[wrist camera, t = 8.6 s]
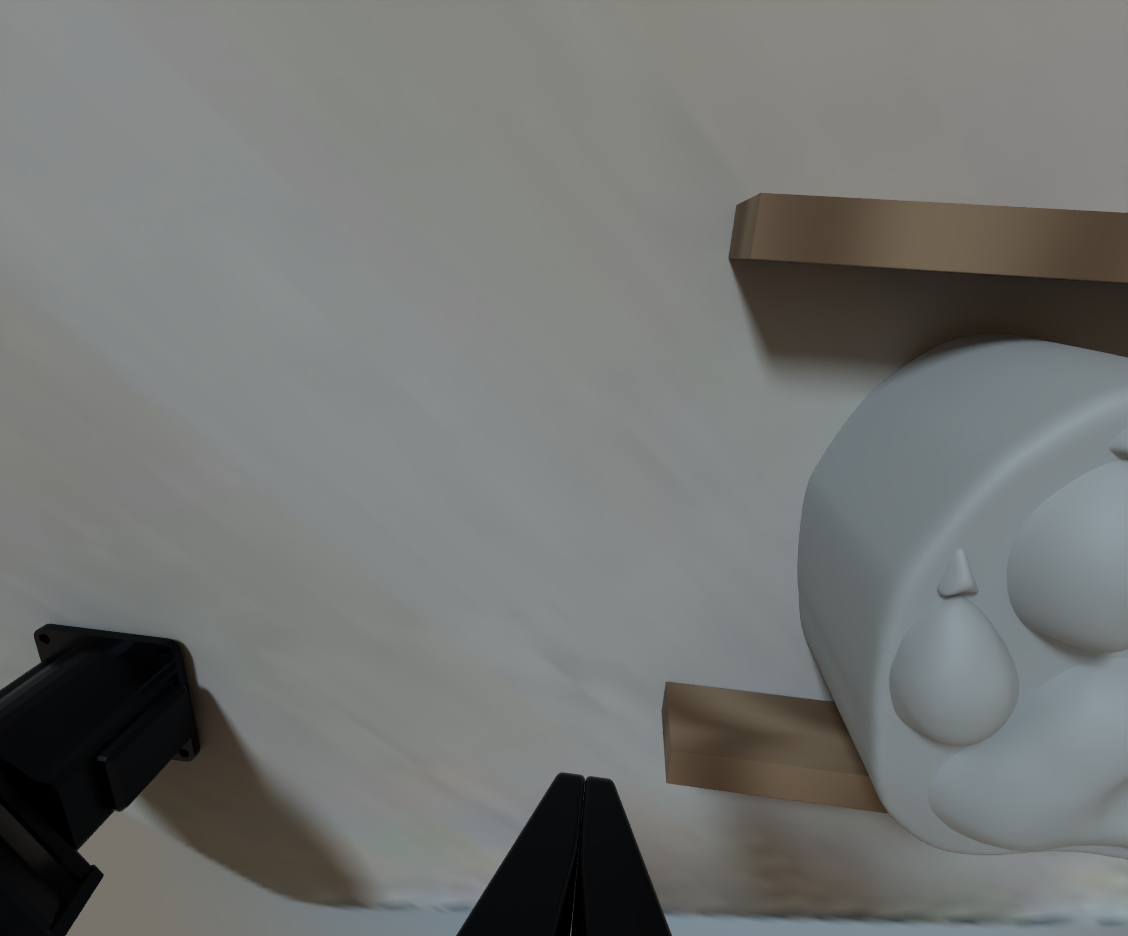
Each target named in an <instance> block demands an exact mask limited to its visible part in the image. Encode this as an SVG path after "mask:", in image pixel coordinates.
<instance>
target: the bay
mask: <svg viewBox="0 0 1128 936" xmlns="http://www.w3.org/2000/svg"><path fill="white" fill-rule="evenodd" d="M729 259H745V260H760V261H776V262H792V263H807V264H823V265H839V266H854V267H870V268H886V269H901V270H917V271H933V272H949V273H964V274H980V275H996V276H1011V277H1027V278H1043V279H1058V280H1074V281H1090V282H1105V283H1121V284H1128V213H1118V212H1099V211H1081V210H1063V209H1044V208H1026V207H1008V206H990V205H971V204H953V203H935V202H916V201H898V200H880V199H862V198H843V197H825V196H807V195H788V194H770V193H760V194H758V195H756V196H754V197H752V198H750V199H748V200H746V201H744V202H742V203H740V204H738V205H736V212H735V219H734V226H733V232H732V239H731V246H730V253H729ZM662 724H663V739H664V754H665V769H666V783H669V784H677V785H684V786H691V787H699V788H706V789H713V790H721V791H728V792H736V793H743V794H750V795H758V796H765V797H772V798H780V799H787V800H794V801H802V802H809V803H817V804H824V805H831V806H839V807H846V808H853V809H861V810H868V811H876V812H883V813H888V812H887V810H886V809H885V807H884V806H883V804H882V802H881V801H880V799H879V797H878V795H877V793H876V791H875V788H874V786H873V784H872V781H871V779H870V777H869V774H868V772H867V770H866V768H865V765H864V763H863V761H862V759H861V757H860V755H859V753H858V751H857V749H856V747H855V745H854V743H853V740H852V738H851V736H850V734H849V732H848V730H847V727H846V725H845V723H844V721H843V719H842V717H841V714H840V712H839V710H838V708H837V706H836V704H835V702H828V701H820V700H812V699H804V698H796V697H787V696H779V695H771V694H763V693H755V692H746V691H738V690H730V689H722V688H714V687H705V686H697V685H689V684H681V683H673V682H666V685H665V692H664V699H663V706H662Z"/></svg>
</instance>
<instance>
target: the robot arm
mask: <svg viewBox="0 0 1128 936" xmlns="http://www.w3.org/2000/svg"><path fill="white" fill-rule="evenodd" d="M34 639H35V642H36V646H37V649H38V652H39V656H40V659H41V663H40V664H38V665H37V666H35V667H34V668H32V669H31V670H29V671H28V672H26V673H25V674H23V675H22V676H21V677H19V678H18V679H16V680H15V681H13V682H12V683H10V684H9V685H7V686H6V687H4V688H3V689H2V690H0V936H65V935H66V934H67V932H68V931H69V929H70V928H71V926H72V924H73V923H74V921H75V920H76V918H77V917H78V915H79V913H80V912H81V911H82V909H83V907H84V906H85V904H86V903H87V901H88V900H89V898H90V897H91V895H92V893H93V892H94V890H95V889H96V887H97V886H98V884H99V883H100V881H101V879H102V878H103V876H104V874H103V873H102V872H101V871H100V870H99V869H98V868H97V867H96V866H95V865H90V864H89V863H88V862H87V861H86V860H85V859H84V858H83V857H82V856H81V855H80V854H79V853H78V852H77V850H78V849H79V848H80V847H81V846H82V845H83V844H84V843H85V842H86V841H87V839H89V837H90V836H91V835H92V834H93V833H94V832H95V831H96V830H97V829H98V828H99V826H101V825H102V824H103V822H104V821H105V820H106V819H107V818H108V817H109V816H110V815H111V814H112V813H113V812H114V811H118V812H120V811H123V810H124V809H125V808H126V807H128V806H129V805H130V804H131V803H132V802H133V800H134V799H135V798H136V797H137V796H138V795H139V794H140V793H141V792H142V791H143V790H144V788H145V787H146V786H147V785H148V784H149V783H150V782H151V781H152V780H153V779H154V778H155V776H156V775H157V774H158V773H159V772H160V771H161V770H162V769H163V768H164V767H165V766H166V765H167V763H168V762H169V761H170V760H171V759H172V760H179V761H191V760H193V759H194V758H195V757H196V755H197V754H198V753H199V752H200V744H199V739H198V734H197V729H196V724H195V719H194V714H193V709H192V704H191V698H190V693H189V688H188V683H187V678H186V673H185V668H184V663H183V658H182V653H181V649H180V646H179V645H178V644H177V642H175V641H174V640H172V639H168V638H160V637H152V636H144V635H136V634H128V633H120V632H112V631H104V630H96V629H88V628H80V627H72V626H64V625H56V624H46V625H44V626H43V627H41V628H39V629H38V630H36V631H35V633H34ZM584 786H585V789H584ZM583 797H584V800H583ZM582 808H583V810H582ZM581 819H582V821H581ZM580 830H581V832H580ZM579 841H580V842H579ZM578 851H579V853H578ZM577 862H578V864H577ZM576 872H577V875H576ZM575 883H576V885H575ZM574 893H575V896H574ZM573 903H574V907H573ZM572 914H573V918H572ZM571 924H572V930H571ZM570 933H571V936H672V935H671V932H670V929H669V927H668V924H667V921H666V919H665V916H664V914H663V911H662V908H661V906H660V903H659V900H658V898H657V895H656V892H655V890H654V887H653V885H652V882H651V879H650V877H649V874H648V871H647V869H646V866H645V863H644V861H643V858H642V856H641V853H640V850H639V848H638V845H637V842H636V840H635V837H634V834H633V832H632V829H631V827H630V824H629V821H628V819H627V816H626V813H625V811H624V808H623V805H622V803H621V800H620V798H619V795H618V792H617V790H616V787H615V785H614V783H613V781H612V780H611V779H607V778H600V777H593V776H589V777H587V778H586V781H585V778H584V777H583V776H582V775H578V774H571V773H564V772H562V773H559V774H558V775H557V776H556V777H555V779H554V781H553V782H552V784H551V785H550V787H549V789H548V790H547V792H546V793H545V795H544V797H543V798H542V800H541V801H540V803H539V805H538V806H537V808H536V809H535V811H534V812H533V814H532V816H531V817H530V819H529V820H528V822H527V824H526V825H525V827H524V828H523V830H522V832H521V833H520V835H519V836H518V838H517V840H516V841H515V843H514V844H513V846H512V848H511V849H510V851H509V852H508V854H507V856H506V857H505V859H504V860H503V862H502V864H501V865H500V867H499V868H498V870H497V871H496V873H495V875H494V876H493V878H492V879H491V881H490V883H489V884H488V886H487V887H486V889H485V891H484V892H483V894H482V895H481V897H480V899H479V900H478V902H477V903H476V905H475V907H474V908H473V910H472V911H471V913H470V915H469V916H468V918H467V919H466V921H465V923H464V924H463V926H462V928H461V929H460V931H459V932H458V934H457V935H456V936H570Z"/></svg>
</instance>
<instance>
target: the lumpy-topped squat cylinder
mask: <svg viewBox="0 0 1128 936" xmlns="http://www.w3.org/2000/svg"><path fill="white" fill-rule="evenodd" d="M797 577H798V590H799V610H800V619H801V625H802V629H803V633H804V636H805V638H806V641H807V643H808V645H809V647H810V649H811V651H812V654H813V656H814V658H815V660H816V662H817V665H818V667H819V669H820V671H821V673H822V675H823V678H824V680H825V682H826V684H827V686H828V689H829V691H830V693H831V695H832V697H833V699H834V702H835V704H836V706H837V708H838V710H839V712H840V714H841V717H842V719H843V721H844V723H845V725H846V727H847V730H848V732H849V734H850V736H851V738H852V740H853V743H854V745H855V747H856V749H857V751H858V753H859V755H860V757H861V759H862V761H863V763H864V765H865V768H866V770H867V772H868V774H869V777H870V779H871V781H872V784H873V786H874V788H875V791H876V793H877V795H878V797H879V799H880V801H881V802H882V804H883V806H884V807H885V809H886V810H887V812H888V813H889V814H890V815H891V817H892V818H893V819H894V820H895V821H896V822H897V823H898V824H900V825H901V826H902V827H903V828H904V829H905V830H907V831H908V832H909V833H911V834H912V835H914V836H915V837H916V838H918V839H920V840H921V841H923V842H925V843H927V844H929V845H931V846H933V847H936V848H939V849H942V850H946V851H950V852H955V853H962V854H972V855H1002V854H1013V853H1025V852H1037V851H1070V852H1084V853H1093V854H1099V855H1105V856H1111V857H1117V858H1123V859H1128V358H1127V357H1122V356H1118V355H1113V354H1109V353H1104V352H1099V351H1094V350H1089V349H1084V348H1079V347H1074V346H1069V345H1064V344H1059V343H1054V342H1049V341H1044V340H1039V339H1034V338H1029V337H1024V336H1019V335H1014V334H1007V333H983V334H975V335H970V336H965V337H961V338H957V339H954V340H951V341H949V342H946V343H944V344H941V345H939V346H937V347H935V348H933V349H931V350H929V351H927V352H925V353H924V354H922V355H920V356H918V357H917V358H915V359H914V360H912V361H911V362H909V363H908V364H906V365H905V366H903V367H902V368H901V369H899V370H898V371H896V372H895V373H894V374H892V375H891V376H890V377H888V378H887V379H886V380H885V381H883V382H882V383H881V384H880V385H879V386H877V387H876V388H875V389H874V390H873V391H872V392H871V393H870V394H869V395H868V396H867V397H866V398H865V399H864V400H863V401H862V402H861V403H860V405H859V406H858V407H857V408H856V410H855V411H854V412H853V413H852V415H851V416H850V417H849V418H848V420H847V421H846V422H845V424H844V425H843V427H842V428H841V429H840V431H839V432H838V433H837V435H836V436H835V438H834V439H833V441H832V442H831V444H830V445H829V447H828V448H827V450H826V451H825V453H824V454H823V456H822V457H821V459H820V461H819V462H818V464H817V466H816V467H815V469H814V471H813V473H812V475H811V477H810V479H809V482H808V485H807V488H806V493H805V497H804V503H803V509H802V516H801V524H800V533H799V545H798V564H797Z"/></svg>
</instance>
